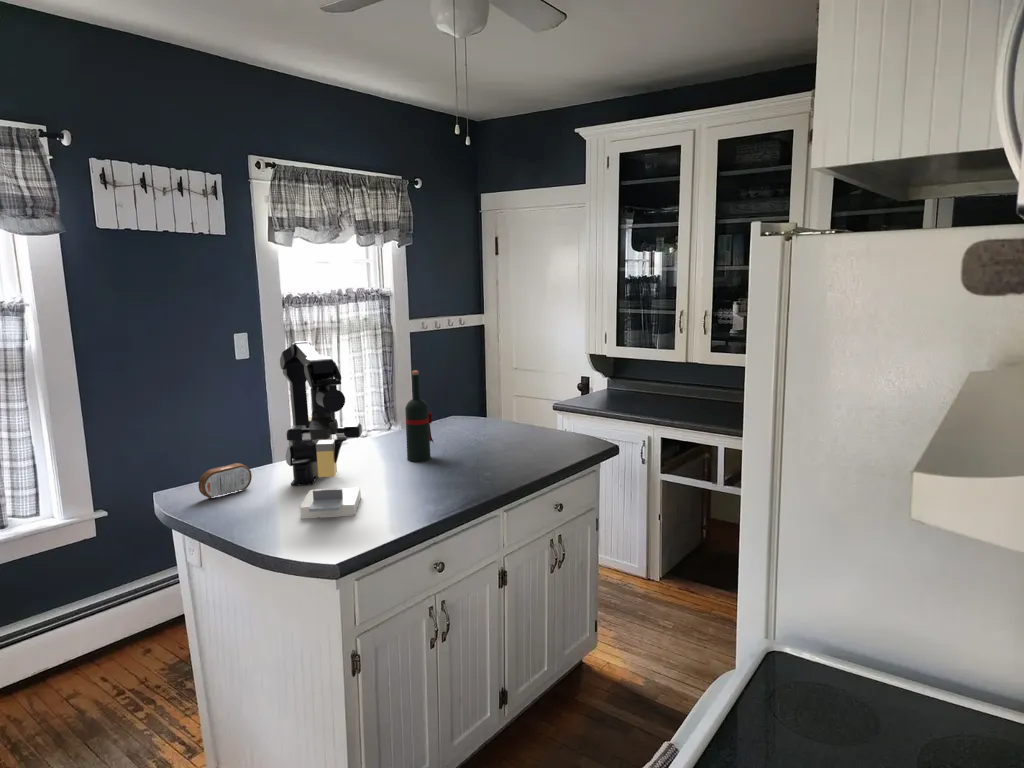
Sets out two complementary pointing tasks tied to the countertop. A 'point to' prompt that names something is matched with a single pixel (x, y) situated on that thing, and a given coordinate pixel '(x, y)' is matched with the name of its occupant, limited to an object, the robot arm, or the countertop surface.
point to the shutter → (326, 500)
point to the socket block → (347, 509)
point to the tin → (224, 480)
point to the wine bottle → (418, 425)
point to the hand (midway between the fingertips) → (327, 462)
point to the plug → (326, 458)
